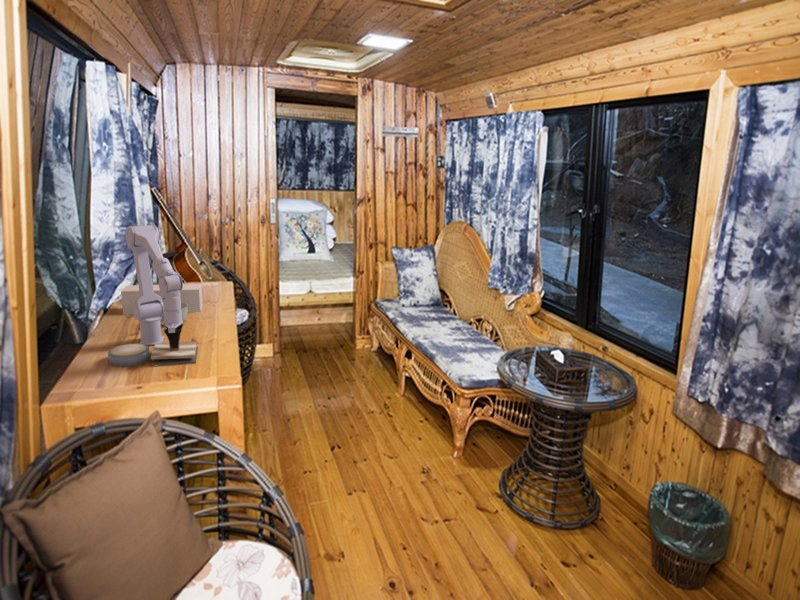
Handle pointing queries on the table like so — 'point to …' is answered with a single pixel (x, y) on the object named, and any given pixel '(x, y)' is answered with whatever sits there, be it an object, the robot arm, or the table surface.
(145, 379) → the table surface
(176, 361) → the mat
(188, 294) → the pale grey long block
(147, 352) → the bowl
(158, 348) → the lid
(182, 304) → the teacup
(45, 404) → the table surface
